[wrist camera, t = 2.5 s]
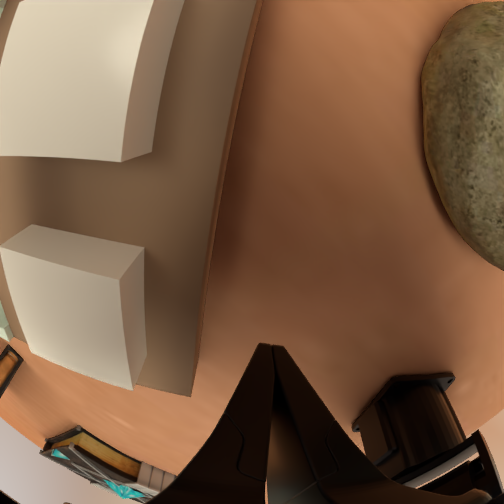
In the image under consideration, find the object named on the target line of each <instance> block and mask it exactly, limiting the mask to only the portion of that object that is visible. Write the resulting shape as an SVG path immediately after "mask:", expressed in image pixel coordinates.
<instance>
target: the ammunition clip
mask: <svg viewBox="0 0 504 504" xmlns="http://www.w3.org/2000/svg"><path fill="white" fill-rule="evenodd" d="M22 361H23V359H22V358H21V357H20V356H19V355H18V354H17V353H16V352H15V351H14V350H13V349H12V348H11V347H10V346H9V345H7V347H6V348H5V349H4V351H3V352H2V353H1V355H0V398H1V396H2V395H3V393H4V391H5V390H6V388H7V386H8V385H9V383H10V381H11V380H12V378H13V376H14V375H15V373H16V371H17V369H18V368H19V366H20V365H21V363H22Z"/></svg>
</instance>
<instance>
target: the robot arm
mask: <svg viewBox="0 0 504 504" xmlns="http://www.w3.org/2000/svg"><path fill="white" fill-rule="evenodd" d="M454 380H455V376H454V374H453V373H445V374H433V375H419V376H398V377H394V378H392V379H390V380H389V381H388V383H387V384H386V385H385V387H384V388H383V389H382V390H381V392H380V393H379V394H378V395H377V397H376V398H375V399H374V400H373V402H372V403H371V404H370V405H369V406H368V408H367V409H366V410H365V411H364V412H363V414H362V415H361V416H360V417H359V418H358V419H357V420H356V421H355V423H354V424H353V425H352V426H351V427H352V431H353V432H360V433H361V437H362V441H363V446H364V450H365V454H366V455H365V454H364V453H363V452H362V451H361V450H360V449H359V448H358V447H357V446H356V445H355V444H354V442H353V441H352V440H351V439H350V438H349V436H348V435H347V434H346V433H345V431H344V430H343V429H342V427H341V426H340V425H339V423H338V422H337V421H336V420H335V418H334V417H333V415H332V414H331V413H330V411H329V410H328V408H327V407H326V406H325V404H324V403H323V401H322V400H321V399H320V397H319V396H318V394H317V393H316V392H315V390H314V389H313V387H312V386H311V384H310V383H309V382H308V380H307V379H306V377H305V376H304V375H303V373H302V372H301V370H300V369H299V367H298V366H297V365H296V363H295V362H294V360H293V359H292V357H291V356H290V354H289V353H288V352H287V350H286V349H285V347H284V346H281V345H270V344H266V343H259V344H258V345H257V347H256V349H255V351H254V353H253V355H252V358H251V360H250V362H249V364H248V366H247V368H246V370H245V372H244V374H243V376H242V378H241V380H240V382H239V384H238V386H237V388H236V390H235V391H234V393H233V395H232V397H231V399H230V401H229V403H228V405H227V407H226V409H225V411H224V413H223V414H222V416H221V418H220V420H219V422H218V424H217V425H216V427H215V429H214V430H213V432H212V434H211V435H210V437H209V438H208V439H207V441H206V442H205V443H204V445H203V446H202V447H201V449H200V450H199V451H198V452H197V454H196V455H195V456H194V457H193V458H192V460H191V461H190V462H189V463H188V464H187V466H186V467H185V468H184V469H183V470H182V472H181V473H180V474H179V475H178V476H177V477H176V478H175V479H174V480H173V481H172V482H171V483H170V484H169V485H168V486H167V487H166V488H165V489H163V490H162V491H161V492H159V493H158V494H157V495H155V496H154V497H153V498H151V499H150V500H149V501H147V502H146V503H144V504H265V482H266V478H267V492H268V504H504V489H503V486H502V483H501V480H500V477H499V474H498V471H497V468H496V465H495V462H494V459H493V457H492V454H491V452H490V450H489V447H488V445H487V443H486V441H485V438H484V437H483V435H482V434H481V432H480V431H479V429H478V430H477V431H476V432H474V433H473V434H471V435H472V436H470V437H469V438H467V439H466V436H465V434H464V431H463V429H462V427H461V425H460V423H459V420H458V418H457V416H456V414H455V412H454V410H453V408H452V406H451V403H450V401H449V399H448V397H447V395H446V393H445V391H446V390H447V388H448V387H449V386H450V385H451V384H452V382H453V381H454ZM334 420H335V421H334ZM476 452H478V453H479V456H478V457H477V458H476V459H474V460H473V461H471V462H470V461H469V460H468V461H466V462H465V463H463V464H462V465H460V466H458V467H457V468H455V469H453V470H452V471H450V472H448V473H447V474H445V475H443V476H441V477H439V478H437V479H435V480H434V481H432V482H430V483H428V484H426V485H424V486H422V487H420V488H418V489H416V488H415V487H417V486H420V485H422V484H423V483H425V482H427V481H430V480H431V479H433V478H435V477H437V476H439V475H441V474H443V473H444V472H446V471H448V470H450V469H451V468H453V467H455V466H456V465H458V464H459V463H461V462H463V461H464V460H466V459H467V458H469V457H471V456H472V455H473V454H475V453H476ZM0 504H20V503H18V502H17V501H15V500H14V499H12V498H11V497H10V496H8V495H7V494H5V493H4V492H3V491H1V490H0ZM64 504H70V503H64Z"/></svg>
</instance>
